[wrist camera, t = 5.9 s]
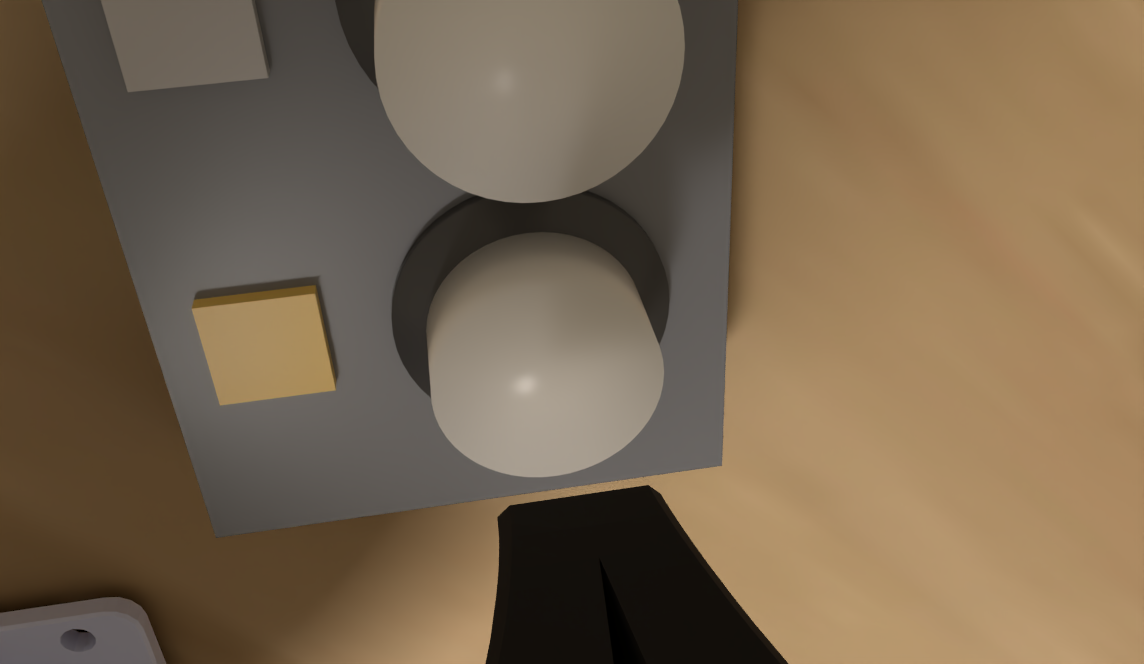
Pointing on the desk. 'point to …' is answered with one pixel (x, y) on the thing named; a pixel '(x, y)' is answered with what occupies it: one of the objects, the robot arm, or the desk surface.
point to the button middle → (527, 88)
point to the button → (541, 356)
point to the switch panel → (363, 251)
